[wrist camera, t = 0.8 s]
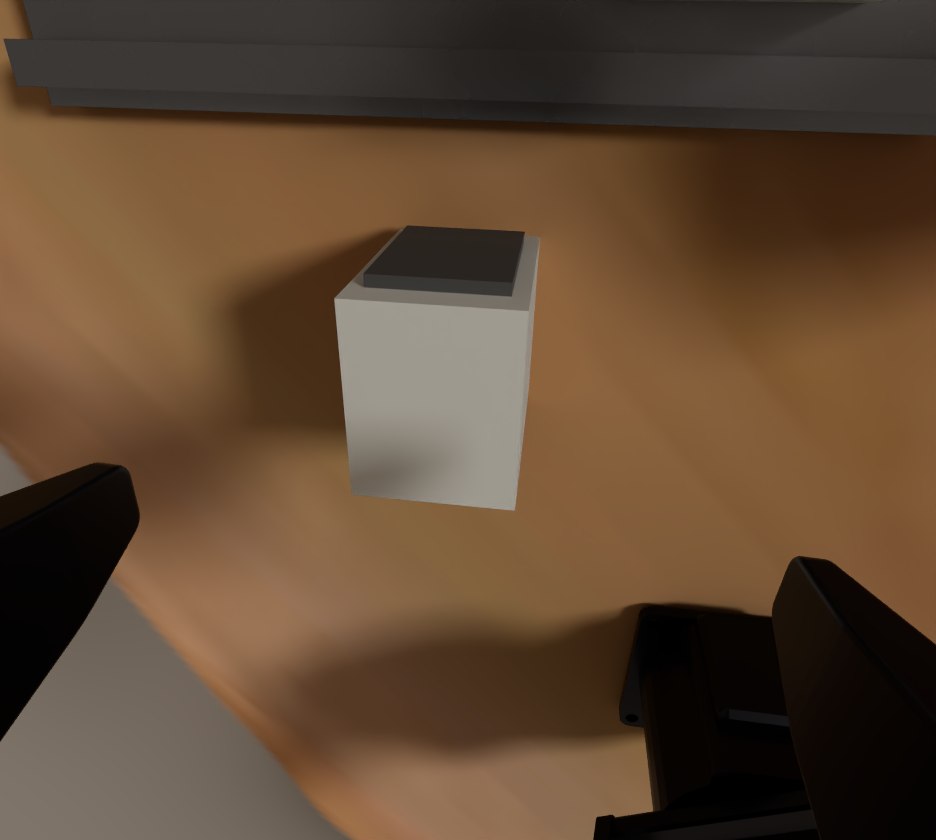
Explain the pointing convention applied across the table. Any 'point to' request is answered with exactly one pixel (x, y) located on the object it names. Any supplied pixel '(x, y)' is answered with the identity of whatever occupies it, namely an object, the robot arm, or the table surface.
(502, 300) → the block
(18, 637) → the robot arm
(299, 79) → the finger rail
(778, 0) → the block
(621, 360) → the table surface
